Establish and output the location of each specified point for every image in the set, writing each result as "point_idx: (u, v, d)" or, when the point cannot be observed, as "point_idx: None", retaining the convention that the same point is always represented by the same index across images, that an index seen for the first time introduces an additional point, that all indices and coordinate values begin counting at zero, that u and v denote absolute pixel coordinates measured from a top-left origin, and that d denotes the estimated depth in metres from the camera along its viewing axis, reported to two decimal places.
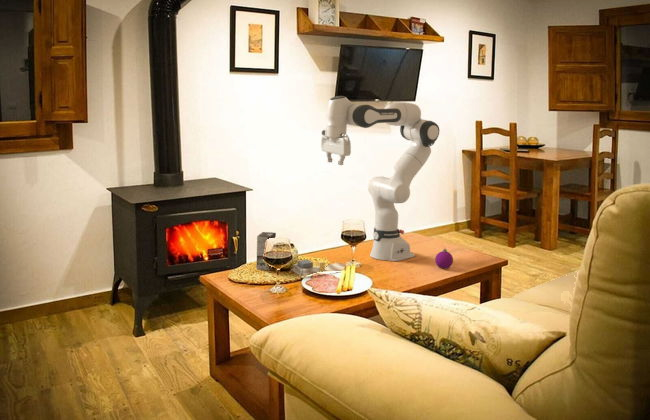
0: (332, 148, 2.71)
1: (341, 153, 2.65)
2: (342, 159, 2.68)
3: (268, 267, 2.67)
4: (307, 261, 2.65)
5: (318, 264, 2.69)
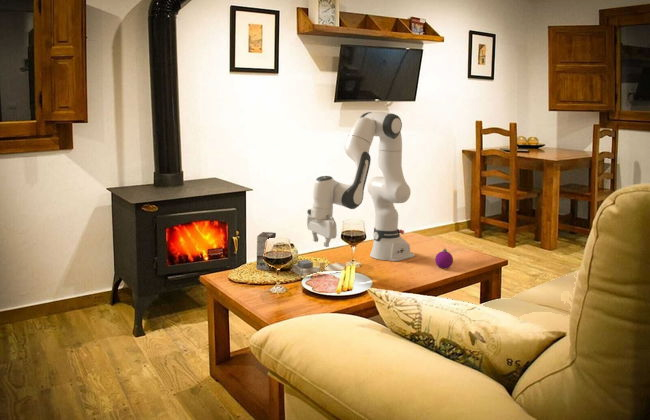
0: (318, 228, 2.65)
1: (327, 236, 2.59)
2: (328, 241, 2.62)
3: (268, 267, 2.67)
4: (307, 261, 2.65)
5: (318, 264, 2.69)
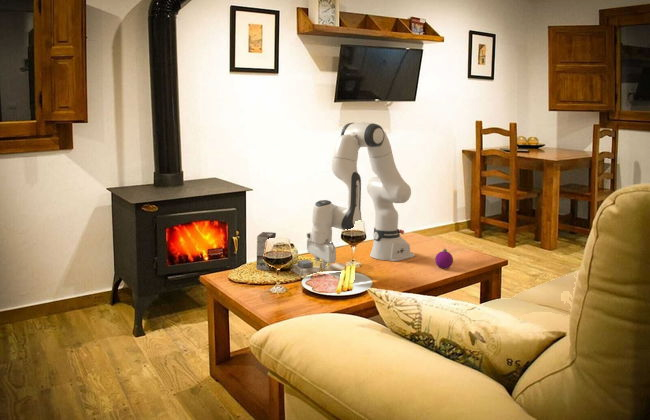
0: (318, 252, 2.67)
1: (326, 260, 2.61)
2: (324, 263, 2.66)
3: (268, 267, 2.67)
4: (307, 261, 2.65)
5: (318, 264, 2.69)
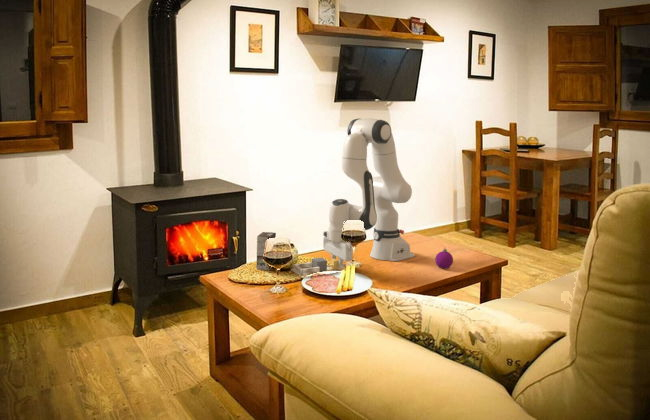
0: (334, 250, 2.72)
1: (343, 258, 2.65)
2: (341, 261, 2.71)
3: (268, 267, 2.67)
4: (321, 259, 2.69)
5: (332, 262, 2.72)
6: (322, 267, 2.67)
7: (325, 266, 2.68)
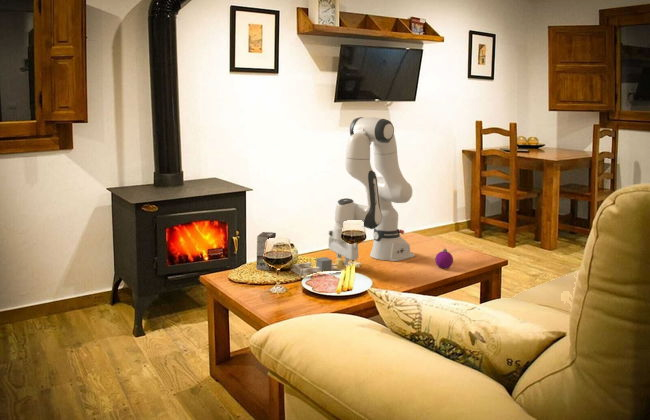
0: (340, 250, 2.73)
1: (349, 257, 2.67)
2: (347, 260, 2.72)
3: (268, 267, 2.67)
4: (326, 258, 2.70)
5: (337, 261, 2.74)
6: (327, 266, 2.68)
7: (330, 265, 2.69)
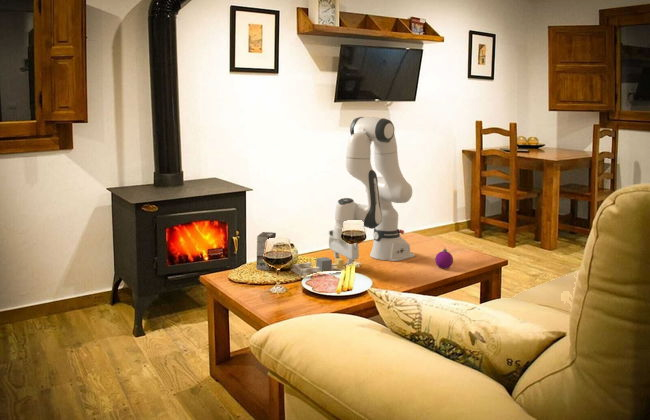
0: (340, 249, 2.73)
1: (349, 257, 2.67)
2: (350, 261, 2.70)
3: (268, 267, 2.67)
4: (326, 258, 2.70)
5: (337, 261, 2.74)
6: (327, 266, 2.69)
7: (330, 265, 2.69)
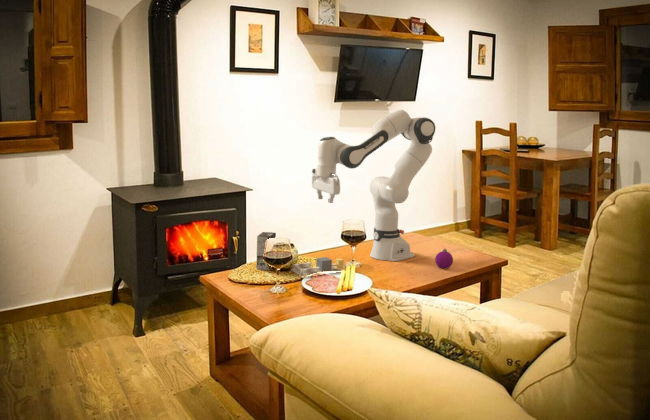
0: (322, 186, 2.83)
1: (331, 192, 2.77)
2: (332, 197, 2.80)
3: (268, 267, 2.67)
4: (326, 258, 2.70)
5: (337, 261, 2.74)
6: (327, 266, 2.69)
7: (330, 265, 2.69)
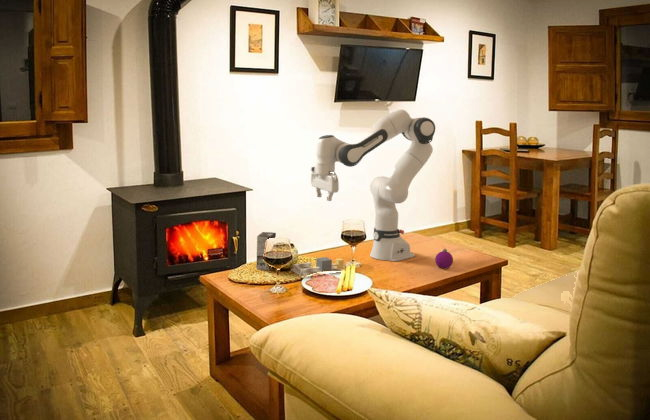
0: (321, 184, 2.84)
1: (329, 190, 2.78)
2: (330, 195, 2.81)
3: (268, 267, 2.67)
4: (326, 258, 2.70)
5: (337, 261, 2.74)
6: (327, 266, 2.69)
7: (330, 265, 2.69)
